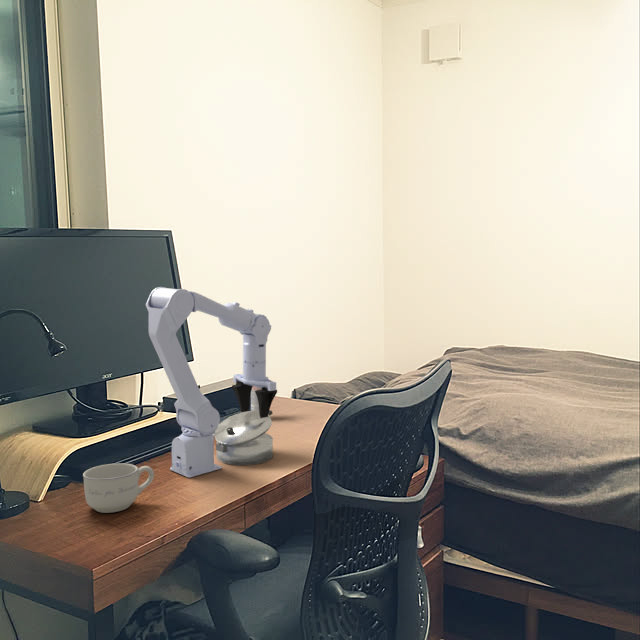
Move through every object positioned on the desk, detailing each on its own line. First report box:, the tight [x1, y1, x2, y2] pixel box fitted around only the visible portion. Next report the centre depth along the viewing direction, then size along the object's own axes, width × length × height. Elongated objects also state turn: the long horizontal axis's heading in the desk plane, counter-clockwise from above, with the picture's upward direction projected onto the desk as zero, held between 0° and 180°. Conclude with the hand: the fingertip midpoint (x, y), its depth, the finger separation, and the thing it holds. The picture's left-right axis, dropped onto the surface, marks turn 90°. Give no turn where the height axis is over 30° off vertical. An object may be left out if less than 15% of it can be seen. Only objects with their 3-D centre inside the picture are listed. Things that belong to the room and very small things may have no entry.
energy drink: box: [250, 386, 262, 411], centre depth 210 cm, size 5×5×12 cm
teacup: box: [82, 462, 155, 514], centre depth 142 cm, size 14×11×8 cm
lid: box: [214, 410, 273, 445], centre depth 174 cm, size 16×15×2 cm
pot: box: [215, 432, 274, 466], centre depth 175 cm, size 15×14×4 cm
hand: (254, 414), depth 176 cm, fingers open, 7 cm apart
